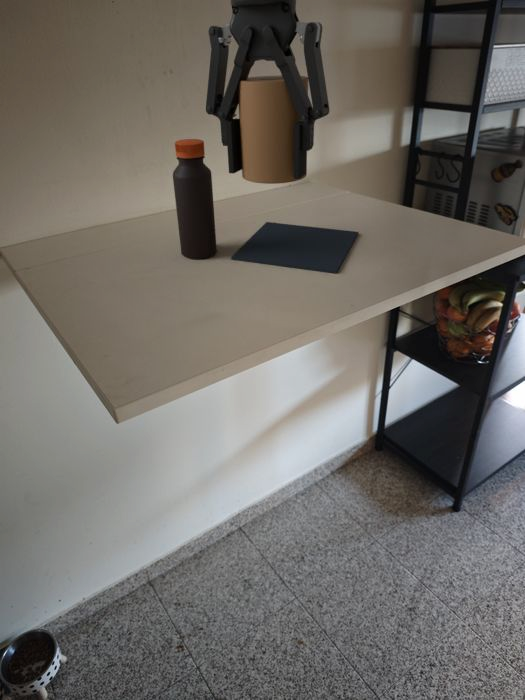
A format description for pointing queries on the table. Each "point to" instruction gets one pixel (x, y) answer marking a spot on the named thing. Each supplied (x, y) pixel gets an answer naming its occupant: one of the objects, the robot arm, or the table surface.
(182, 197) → the bottle
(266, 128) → the paper roll
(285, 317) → the table surface
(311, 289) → the table surface
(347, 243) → the slate mat
